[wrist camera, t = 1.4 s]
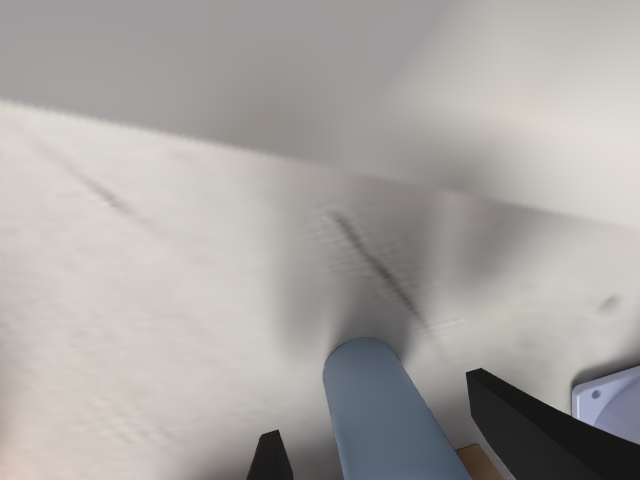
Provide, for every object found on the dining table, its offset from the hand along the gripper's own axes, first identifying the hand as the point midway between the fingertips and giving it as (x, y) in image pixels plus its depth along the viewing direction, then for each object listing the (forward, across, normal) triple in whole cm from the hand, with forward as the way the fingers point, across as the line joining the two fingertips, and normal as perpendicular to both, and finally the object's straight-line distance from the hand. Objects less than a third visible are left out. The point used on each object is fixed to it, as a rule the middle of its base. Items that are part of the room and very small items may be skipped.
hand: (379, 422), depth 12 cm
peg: (+3, 0, 0) cm, 3 cm away
